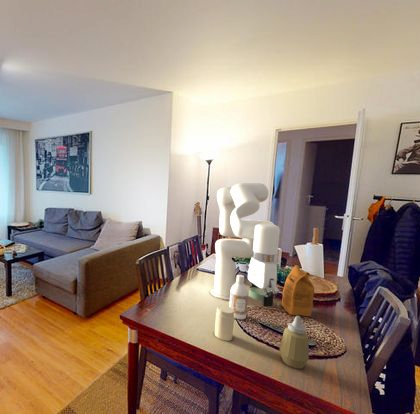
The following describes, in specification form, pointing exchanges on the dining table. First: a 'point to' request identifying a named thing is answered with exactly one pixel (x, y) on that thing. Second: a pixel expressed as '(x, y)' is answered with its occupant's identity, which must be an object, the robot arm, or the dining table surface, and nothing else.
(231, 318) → the jar
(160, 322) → the dining table surface
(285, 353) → the squeeze bottle
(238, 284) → the bath foam
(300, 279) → the coffee package
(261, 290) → the lid
